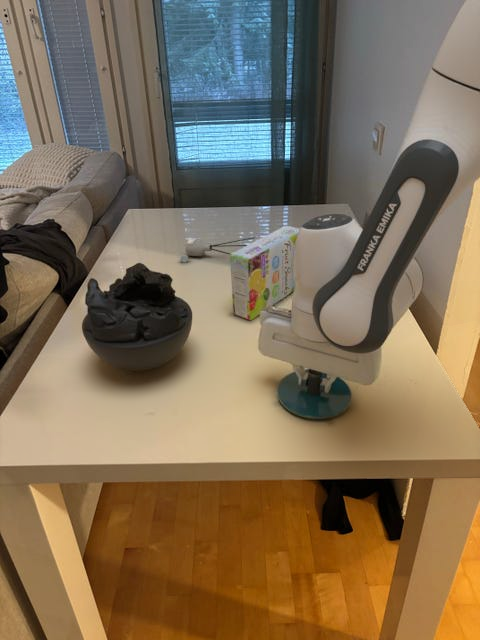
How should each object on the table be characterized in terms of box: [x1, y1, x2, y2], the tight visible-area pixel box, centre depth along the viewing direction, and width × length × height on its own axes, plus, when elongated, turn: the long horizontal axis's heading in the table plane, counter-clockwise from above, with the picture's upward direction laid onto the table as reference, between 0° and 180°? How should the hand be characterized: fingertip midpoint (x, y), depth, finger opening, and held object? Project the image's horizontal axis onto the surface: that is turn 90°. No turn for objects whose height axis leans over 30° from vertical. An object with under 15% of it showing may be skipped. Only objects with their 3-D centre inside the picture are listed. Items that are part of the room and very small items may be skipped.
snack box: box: [229, 225, 300, 321], centre depth 107 cm, size 21×6×15 cm, turn 141°
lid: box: [276, 368, 352, 420], centre depth 79 cm, size 13×13×6 cm
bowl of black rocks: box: [81, 262, 193, 372], centre depth 86 cm, size 20×20×19 cm
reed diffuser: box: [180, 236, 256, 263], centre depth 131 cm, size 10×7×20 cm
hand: (314, 386), depth 80 cm, fingers closed on lid, 2 cm apart
